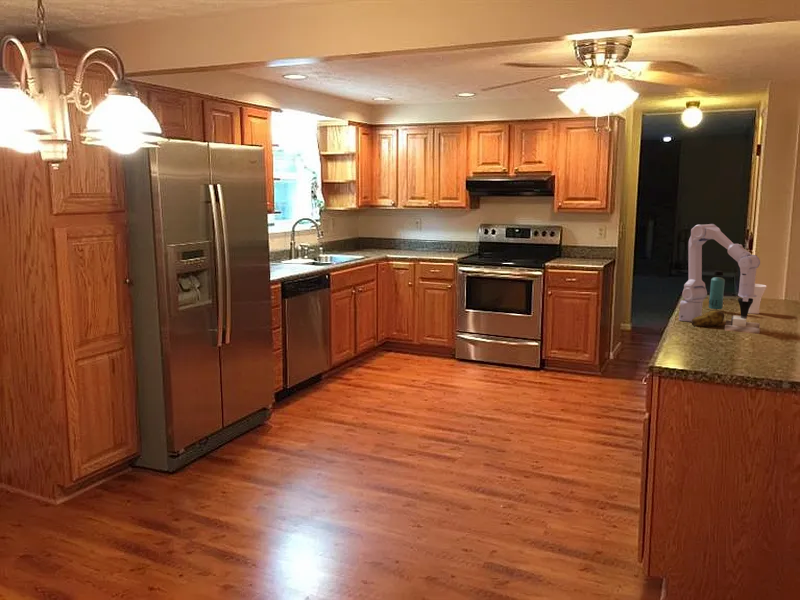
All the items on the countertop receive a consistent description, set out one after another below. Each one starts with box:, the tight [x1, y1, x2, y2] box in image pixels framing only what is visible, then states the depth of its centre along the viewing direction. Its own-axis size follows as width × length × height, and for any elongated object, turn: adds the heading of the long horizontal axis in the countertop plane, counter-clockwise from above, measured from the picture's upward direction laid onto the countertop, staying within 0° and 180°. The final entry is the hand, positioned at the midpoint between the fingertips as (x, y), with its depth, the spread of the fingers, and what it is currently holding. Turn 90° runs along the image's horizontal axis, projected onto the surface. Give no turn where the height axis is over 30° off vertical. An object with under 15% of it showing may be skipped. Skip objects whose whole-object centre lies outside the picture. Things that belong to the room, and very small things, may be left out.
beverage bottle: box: [708, 270, 726, 310], centre depth 327 cm, size 6×7×20 cm
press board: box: [724, 319, 761, 335], centre depth 285 cm, size 13×14×3 cm
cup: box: [748, 283, 768, 315], centre depth 325 cm, size 10×10×14 cm
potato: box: [690, 309, 725, 328], centre depth 290 cm, size 8×13×8 cm, turn 67°
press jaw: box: [730, 314, 748, 327], centre depth 285 cm, size 6×9×8 cm, turn 152°
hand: (743, 315), depth 284 cm, fingers closed on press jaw, 2 cm apart
